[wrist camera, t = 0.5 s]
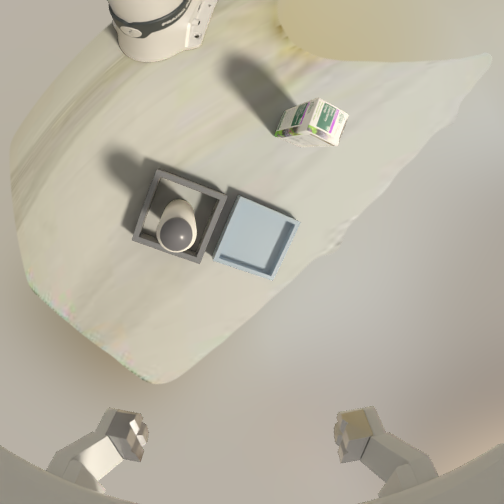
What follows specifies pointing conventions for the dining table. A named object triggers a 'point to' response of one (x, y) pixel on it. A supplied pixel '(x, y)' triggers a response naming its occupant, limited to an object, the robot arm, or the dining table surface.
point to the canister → (177, 226)
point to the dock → (210, 225)
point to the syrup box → (312, 124)
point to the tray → (255, 238)
